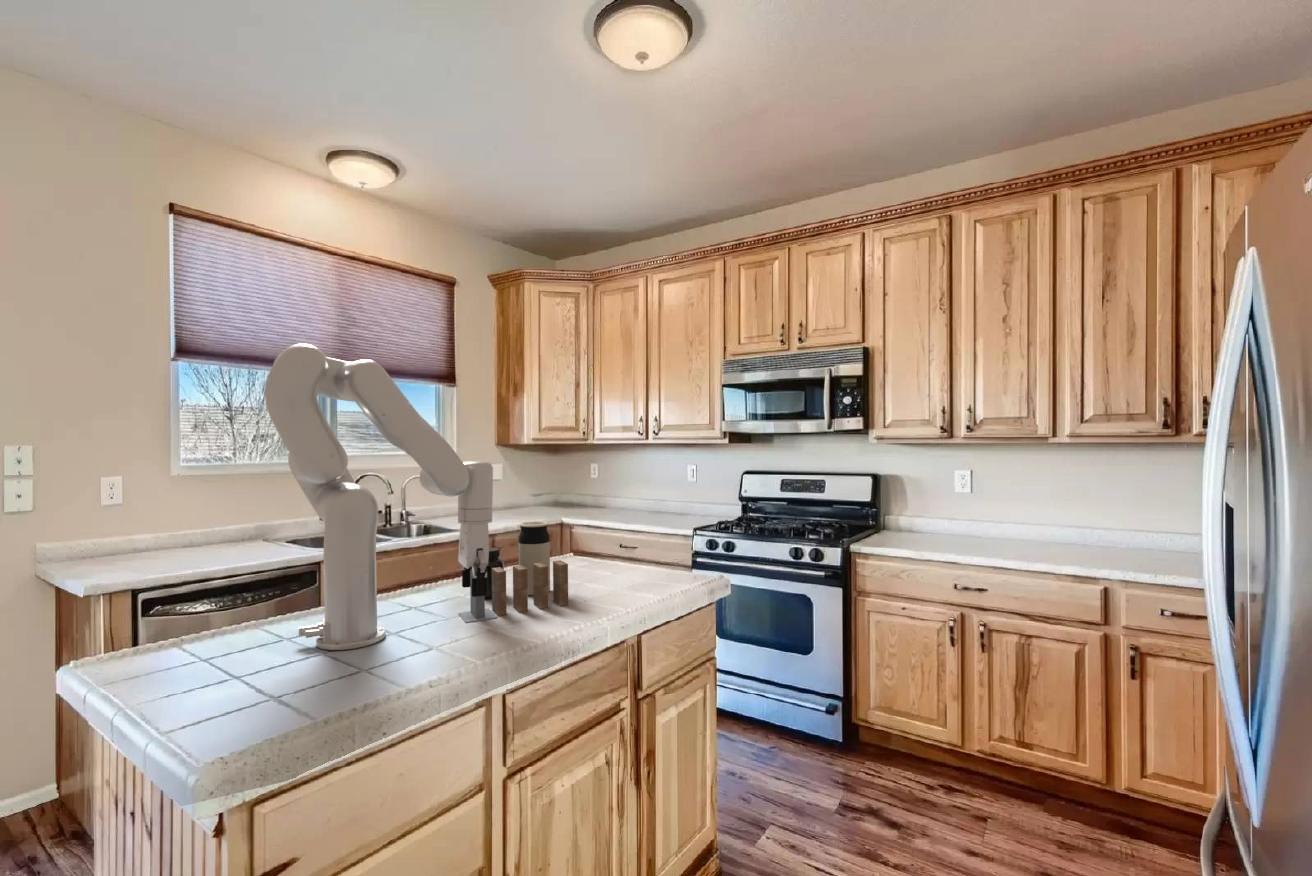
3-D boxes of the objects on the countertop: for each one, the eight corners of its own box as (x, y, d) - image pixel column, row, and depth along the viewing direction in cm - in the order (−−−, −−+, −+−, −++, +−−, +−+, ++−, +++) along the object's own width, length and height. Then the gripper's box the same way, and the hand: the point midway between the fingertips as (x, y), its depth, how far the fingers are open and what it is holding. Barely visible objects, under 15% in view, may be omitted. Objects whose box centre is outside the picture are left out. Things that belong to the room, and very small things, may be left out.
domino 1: (475, 618, 140) (475, 573, 140) (470, 613, 144) (470, 569, 144) (484, 617, 141) (484, 572, 141) (479, 611, 145) (478, 568, 145)
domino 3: (519, 612, 145) (518, 569, 145) (513, 607, 149) (512, 565, 149) (527, 611, 146) (527, 568, 146) (521, 606, 150) (521, 564, 150)
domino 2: (497, 616, 142) (497, 572, 142) (492, 610, 147) (491, 568, 147) (506, 614, 143) (505, 571, 143) (500, 609, 148) (500, 567, 147)
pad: (465, 622, 137) (465, 622, 137) (458, 613, 144) (458, 612, 144) (497, 618, 141) (497, 617, 141) (488, 609, 148) (488, 608, 148)
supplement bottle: (471, 598, 158) (470, 551, 157) (486, 591, 164) (485, 546, 164) (495, 600, 156) (494, 552, 155) (509, 593, 162) (508, 547, 162)
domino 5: (560, 606, 150) (559, 564, 149) (553, 601, 154) (552, 561, 154) (568, 605, 150) (567, 563, 150) (561, 600, 155) (560, 560, 155)
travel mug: (542, 596, 159) (541, 525, 158) (513, 595, 160) (512, 525, 160) (554, 589, 166) (554, 521, 166) (527, 587, 168) (526, 520, 168)
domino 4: (540, 609, 147) (539, 567, 147) (533, 604, 151) (533, 563, 151) (548, 608, 148) (547, 566, 148) (541, 603, 152) (541, 562, 152)
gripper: (450, 512, 148) (449, 585, 148) (466, 520, 133) (465, 601, 133) (482, 511, 152) (481, 582, 151) (501, 519, 136) (500, 598, 136)
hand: (474, 591), depth 142 cm, fingers open, 9 cm apart
